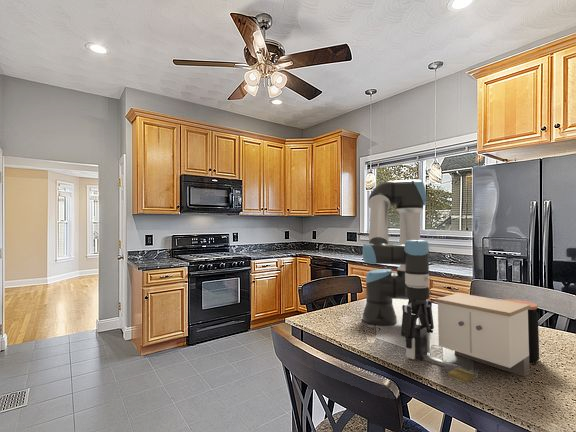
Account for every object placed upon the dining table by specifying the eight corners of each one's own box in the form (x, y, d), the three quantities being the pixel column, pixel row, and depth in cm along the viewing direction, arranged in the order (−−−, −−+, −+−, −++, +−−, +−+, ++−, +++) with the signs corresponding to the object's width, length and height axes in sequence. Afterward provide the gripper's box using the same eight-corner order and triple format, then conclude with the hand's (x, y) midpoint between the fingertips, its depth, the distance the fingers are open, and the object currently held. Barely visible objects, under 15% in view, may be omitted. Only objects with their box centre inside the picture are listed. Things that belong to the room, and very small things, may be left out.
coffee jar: (492, 352, 110) (490, 299, 110) (520, 350, 111) (519, 298, 111) (516, 365, 99) (515, 307, 100) (548, 364, 100) (546, 306, 101)
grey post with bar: (409, 356, 106) (409, 326, 107) (416, 353, 109) (415, 324, 109) (473, 379, 90) (472, 343, 91) (479, 375, 93) (478, 340, 93)
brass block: (448, 377, 92) (448, 372, 92) (456, 372, 95) (456, 367, 95) (466, 384, 88) (466, 379, 88) (474, 379, 91) (474, 373, 91)
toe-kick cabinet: (435, 361, 102) (434, 299, 103) (459, 350, 111) (458, 293, 112) (511, 388, 85) (509, 313, 86) (532, 372, 94) (530, 304, 95)
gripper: (408, 291, 98) (409, 366, 97) (444, 284, 110) (445, 350, 109) (388, 287, 104) (389, 358, 103) (424, 281, 116) (425, 344, 115)
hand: (418, 354), depth 106 cm, fingers open, 8 cm apart
